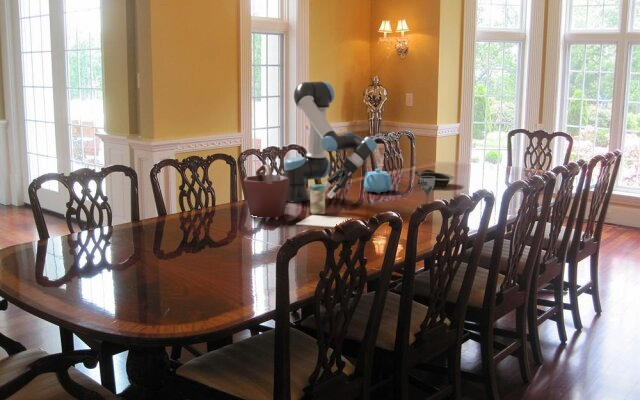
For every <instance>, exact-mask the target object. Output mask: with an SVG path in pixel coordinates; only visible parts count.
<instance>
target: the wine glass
mask: <svg viewBox="0 0 640 400" xmlns="http://www.w3.org/2000/svg"><path fill="white" fill-rule="evenodd" d="M419 178H420V185H419V186H420V188H421V190H422V192H424V194H425V198H426V199H425V200H426V202H428V203H429V201H428V199H429V195H430V193H431V192H432V190H433V189H435V188H434V185H435V177H433V176H421V177H419ZM426 202H425V203H426Z"/></svg>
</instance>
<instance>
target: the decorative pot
mask: <svg viewBox="0 0 640 400" xmlns="http://www.w3.org/2000/svg"><path fill="white" fill-rule="evenodd" d="M391 176H392V175H390V174H389V172H388V171H383V170H381V168H375V169H374V170H373V171H367V172H366V173H365V174H364V181H363V189H364V190H365V191H367V193H373V192H374V193H375V194H377V193H378V195H379V194H381V192H382V193H388V191H390V190H391V189H392V187H393V185H392V177H391Z"/></svg>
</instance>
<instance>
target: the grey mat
mask: <svg viewBox="0 0 640 400" xmlns="http://www.w3.org/2000/svg"><path fill="white" fill-rule="evenodd" d="M352 218H354V217H344V216H342V217H341V216H330V215H329V216H328V215H317V214H312V215H309V216H307V217H306V218H303V219H302V220H301V221H299V222H296V223H295V226H296V225H298V226H311V227H321V228H322V227H324V228H334V227H335V226H336V224H337V225H339V224H340V223H342V222H343V221H344V222H345V220H346V221H347V219H348V220H350V219H352ZM355 218H357V217H355ZM355 218H354V219H355ZM357 219H358V220H359V218H357Z"/></svg>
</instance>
